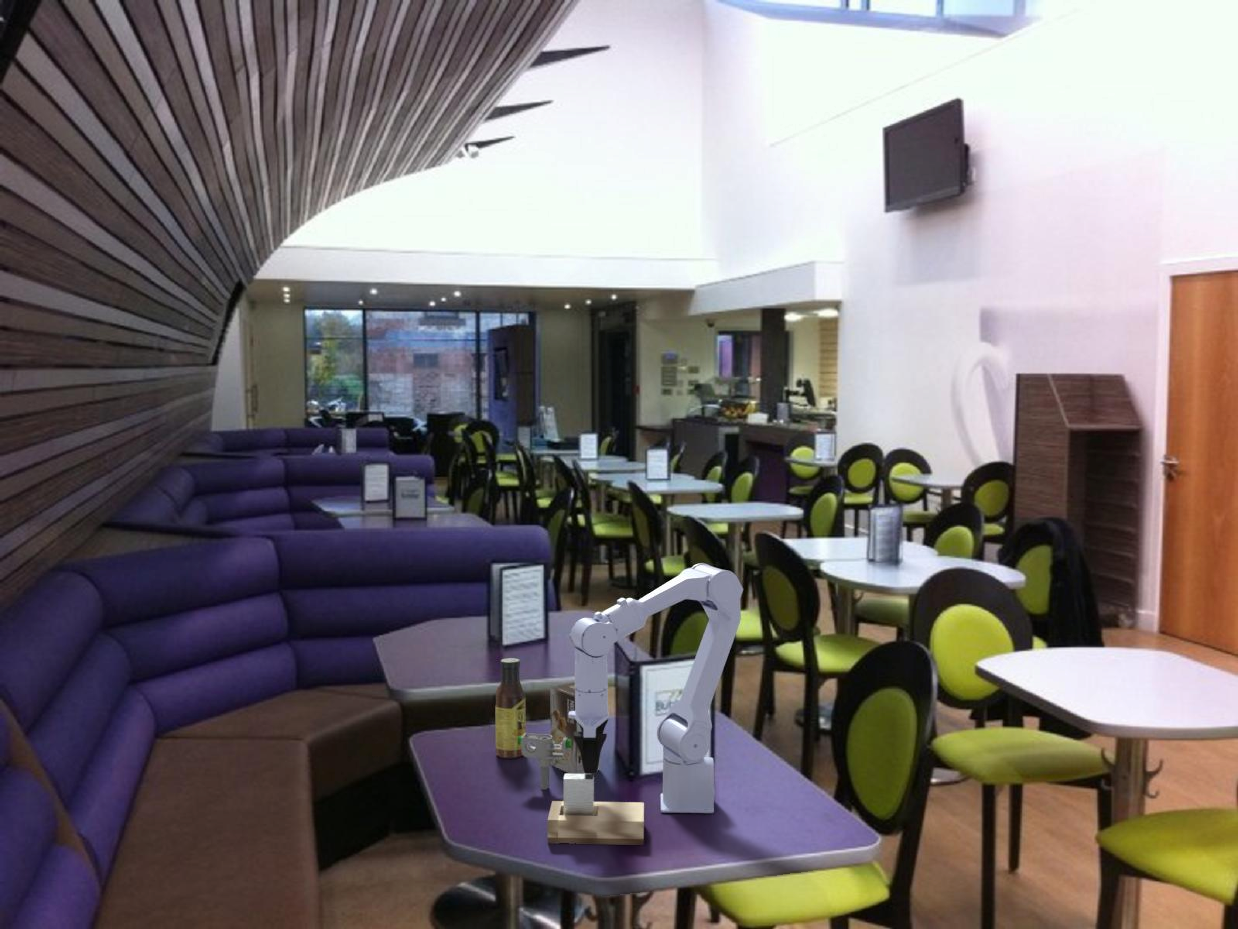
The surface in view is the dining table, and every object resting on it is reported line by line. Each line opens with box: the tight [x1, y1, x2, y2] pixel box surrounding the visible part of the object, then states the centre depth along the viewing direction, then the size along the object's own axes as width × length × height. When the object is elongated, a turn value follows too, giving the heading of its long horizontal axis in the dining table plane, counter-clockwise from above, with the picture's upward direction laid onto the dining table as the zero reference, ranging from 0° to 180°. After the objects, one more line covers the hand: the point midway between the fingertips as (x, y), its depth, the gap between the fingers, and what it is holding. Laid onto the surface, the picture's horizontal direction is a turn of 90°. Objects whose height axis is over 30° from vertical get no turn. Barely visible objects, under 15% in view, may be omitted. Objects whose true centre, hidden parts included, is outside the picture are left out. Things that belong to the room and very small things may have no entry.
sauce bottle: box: [494, 657, 527, 759], centre depth 214 cm, size 6×6×20 cm
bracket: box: [563, 773, 595, 816], centre depth 176 cm, size 5×2×9 cm, turn 88°
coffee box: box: [549, 681, 601, 774], centre depth 206 cm, size 9×6×16 cm
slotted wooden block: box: [547, 800, 645, 846], centre depth 176 cm, size 16×8×4 cm, turn 88°
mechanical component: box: [518, 732, 572, 791], centre depth 196 cm, size 3×10×10 cm, turn 79°
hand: (591, 764), depth 180 cm, fingers open, 7 cm apart
